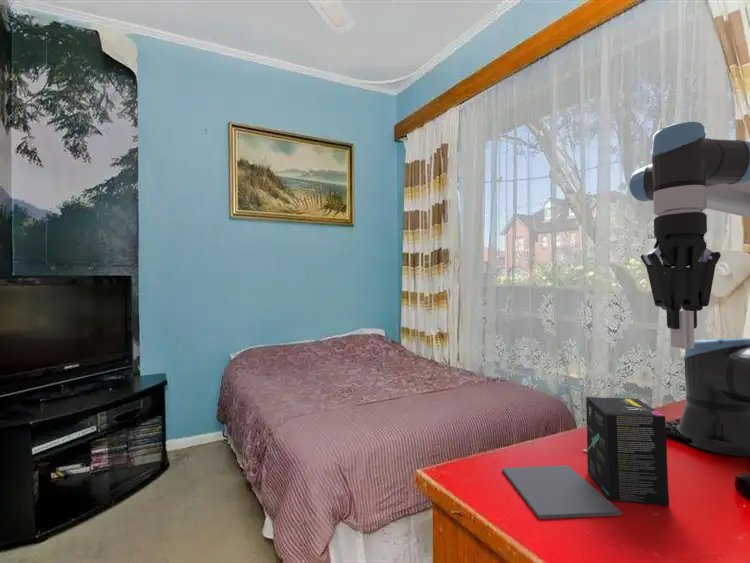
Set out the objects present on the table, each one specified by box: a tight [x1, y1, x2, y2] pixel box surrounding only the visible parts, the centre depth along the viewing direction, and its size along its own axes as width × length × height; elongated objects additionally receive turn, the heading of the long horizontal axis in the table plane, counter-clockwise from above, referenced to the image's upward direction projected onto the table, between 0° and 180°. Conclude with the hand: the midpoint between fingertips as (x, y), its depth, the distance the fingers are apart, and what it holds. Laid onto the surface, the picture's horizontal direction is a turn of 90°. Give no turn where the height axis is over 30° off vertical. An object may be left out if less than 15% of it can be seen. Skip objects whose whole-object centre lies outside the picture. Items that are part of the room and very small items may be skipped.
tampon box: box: [585, 396, 670, 506], centre depth 71 cm, size 11×9×15 cm
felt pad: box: [501, 464, 622, 520], centre depth 71 cm, size 13×16×1 cm
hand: (682, 347), depth 72 cm, fingers closed
